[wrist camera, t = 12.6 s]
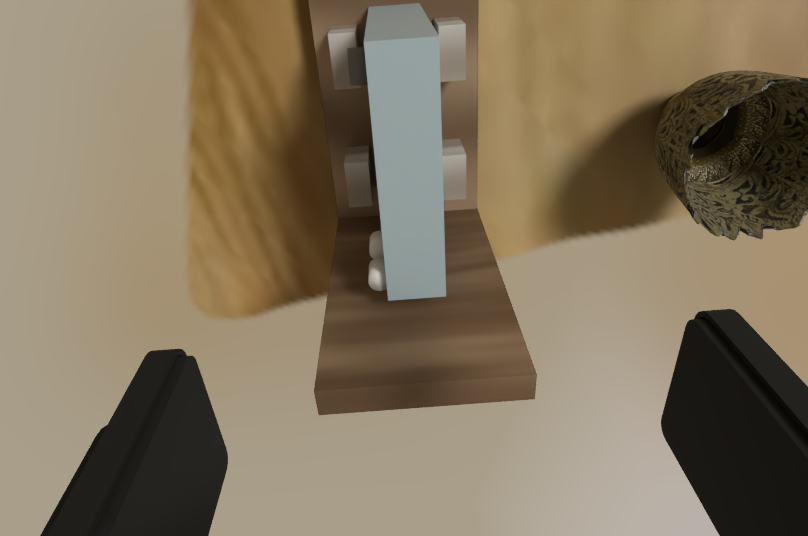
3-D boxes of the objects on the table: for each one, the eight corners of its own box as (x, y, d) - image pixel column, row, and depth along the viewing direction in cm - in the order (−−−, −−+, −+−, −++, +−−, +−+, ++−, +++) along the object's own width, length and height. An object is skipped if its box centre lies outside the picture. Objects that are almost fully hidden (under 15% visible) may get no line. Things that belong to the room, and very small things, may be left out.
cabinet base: (307, -29, 26) (236, 7, 13) (473, -41, 26) (569, -17, 13) (343, 229, 34) (319, 420, 20) (473, 220, 34) (534, 404, 20)
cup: (700, 194, 33) (783, 260, 27) (595, 156, 32) (655, 216, 25) (782, 74, 30) (902, 115, 23) (668, 24, 28) (761, 53, 21)
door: (351, 8, 26) (338, 43, 17) (419, 3, 26) (439, 36, 17) (371, 201, 31) (368, 301, 23) (427, 197, 31) (446, 296, 23)
